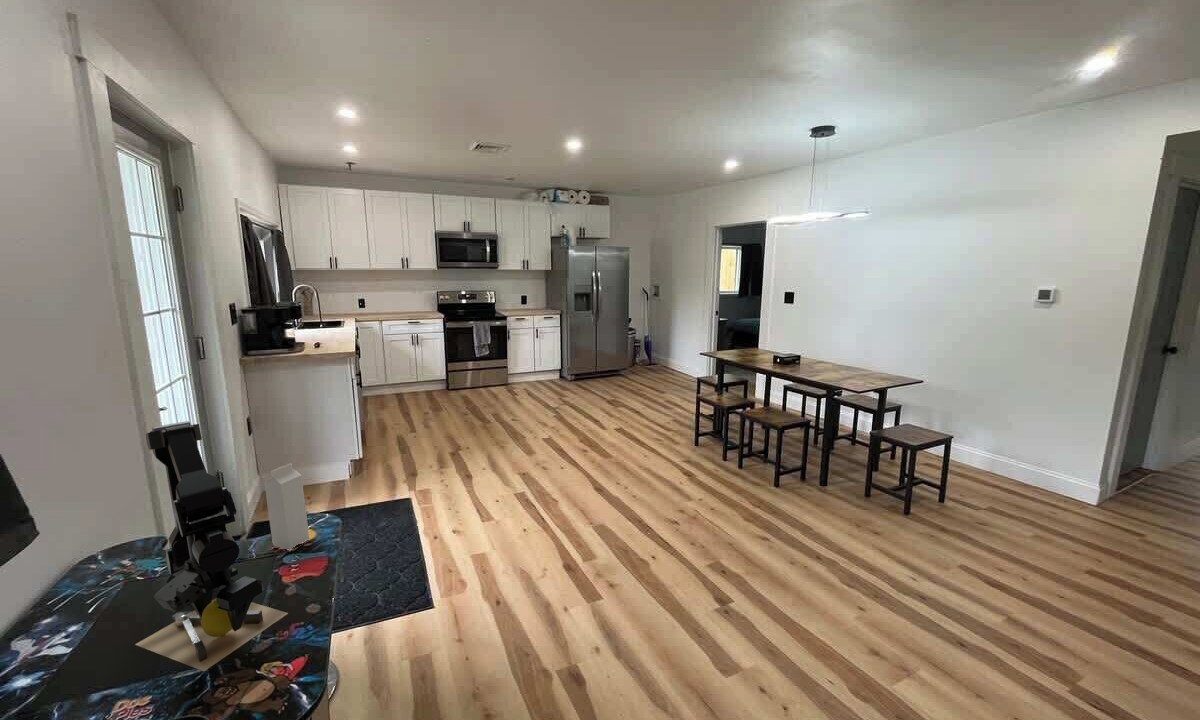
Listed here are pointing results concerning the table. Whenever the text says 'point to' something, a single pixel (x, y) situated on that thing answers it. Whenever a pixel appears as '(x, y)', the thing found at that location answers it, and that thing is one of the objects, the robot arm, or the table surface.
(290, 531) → the milk
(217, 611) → the lemon
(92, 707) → the table surface
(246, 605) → the robot arm
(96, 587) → the table surface
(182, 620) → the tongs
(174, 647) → the board
